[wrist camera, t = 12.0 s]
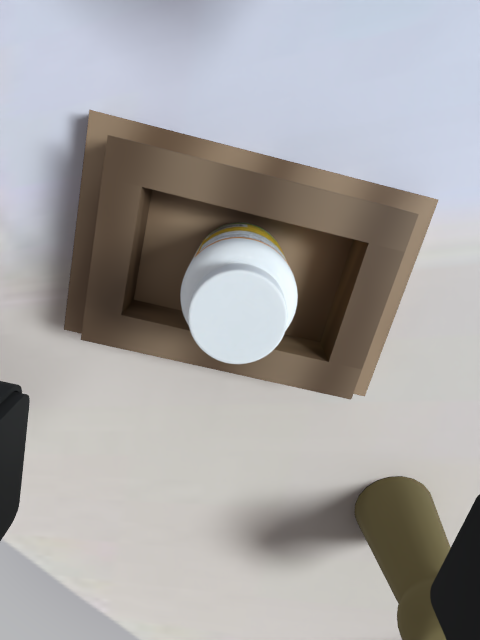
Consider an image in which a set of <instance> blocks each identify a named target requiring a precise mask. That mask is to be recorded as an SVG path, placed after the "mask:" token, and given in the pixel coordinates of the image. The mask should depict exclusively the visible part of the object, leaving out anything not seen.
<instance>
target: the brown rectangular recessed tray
mask: <svg viewBox="0 0 480 640" xmlns="http://www.w3.org/2000/svg"><path fill="white" fill-rule="evenodd" d="M437 203H438V200H437V199H434V198H430V197H426V196H422V195H418V194H414V193H410V192H406V191H403V190H399V189H395V188H391V187H387V186H383V185H379V184H375V183H372V182H368V181H364V180H360V179H356V178H352V177H348V176H344V175H341V174H337V173H333V172H329V171H325V170H321V169H317V168H313V167H310V166H306V165H302V164H298V163H294V162H290V161H286V160H282V159H278V158H275V157H271V156H267V155H263V154H259V153H255V152H251V151H247V150H244V149H240V148H236V147H232V146H228V145H224V144H220V143H216V142H213V141H209V140H205V139H201V138H197V137H193V136H189V135H185V134H182V133H178V132H174V131H170V130H166V129H162V128H158V127H154V126H151V125H147V124H143V123H139V122H135V121H131V120H127V119H123V118H120V117H116V116H112V115H108V114H104V113H100V112H96V111H92V110H90V111H89V119H88V128H87V136H86V145H85V153H84V162H83V171H82V179H81V188H80V196H79V205H78V213H77V222H76V230H75V239H74V248H73V256H72V265H71V273H70V282H69V290H68V299H67V308H66V316H65V325H64V330H68V331H73V332H77V333H82V335H81V340H84V341H89V342H93V343H98V344H102V345H107V346H112V347H116V348H121V349H125V350H130V351H134V352H139V353H143V354H148V355H152V356H157V357H161V358H166V359H170V360H175V361H179V362H184V363H188V364H193V365H198V366H202V367H207V368H211V369H216V370H220V371H225V372H229V373H234V374H238V375H243V376H247V377H252V378H256V379H261V380H265V381H270V382H275V383H279V384H284V385H288V386H293V387H297V388H302V389H306V390H311V391H315V392H320V393H324V394H329V395H333V396H338V397H342V398H347V399H351V398H352V396H353V394H357V395H361V396H365V394H366V391H367V389H368V386H369V383H370V381H371V378H372V375H373V373H374V370H375V367H376V365H377V362H378V360H379V357H380V354H381V352H382V349H383V346H384V344H385V341H386V338H387V336H388V333H389V330H390V328H391V325H392V322H393V320H394V317H395V314H396V312H397V309H398V306H399V304H400V301H401V298H402V296H403V293H404V290H405V288H406V285H407V282H408V280H409V277H410V274H411V272H412V269H413V266H414V264H415V261H416V259H417V256H418V253H419V251H420V248H421V245H422V243H423V240H424V237H425V235H426V232H427V229H428V227H429V224H430V221H431V219H432V216H433V213H434V211H435V208H436V205H437ZM230 223H249V224H253V225H256V226H258V227H260V228H262V229H264V230H265V231H267V232H268V233H269V234H270V235H271V236H272V237H273V238H274V239H275V240H276V241H277V243H278V244H279V246H280V248H281V249H282V251H283V254H284V256H285V258H286V260H287V262H288V265H289V267H290V269H291V271H292V273H293V275H294V278H295V282H296V286H297V294H298V299H297V307H296V312H295V315H294V317H293V320H292V322H291V323H290V325H289V327H288V328H287V330H286V331H285V333H284V336H283V338H282V340H281V341H280V343H279V344H278V345H277V347H276V348H275V349H274V350H273V351H272V352H271V353H269V354H268V355H267V356H265V357H263V358H261V359H259V360H257V361H254V362H251V363H246V364H230V363H224V362H221V361H219V360H216V359H214V358H212V357H211V356H209V355H208V354H207V353H205V352H204V351H203V350H202V349H201V348H200V347H199V346H198V345H197V343H196V342H195V340H194V339H193V337H192V334H191V332H190V328H189V325H188V324H187V322H186V320H185V317H184V315H183V312H182V307H181V297H180V293H181V285H182V281H183V278H184V275H185V273H186V271H187V268H188V267H189V265H190V263H191V261H192V259H193V257H194V255H195V254H196V252H197V250H198V248H199V246H200V244H201V243H202V242H203V240H204V239H205V238H206V237H207V236H208V235H209V234H210V233H211V232H212V231H214V230H215V229H217V228H219V227H221V226H223V225H226V224H230Z"/></svg>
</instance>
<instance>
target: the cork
mask: <svg viewBox="0 0 480 640" xmlns="http://www.w3.org/2000/svg"><path fill="white" fill-rule="evenodd" d="M355 517H356V520H357V522H358V525H359V527H360V529H361V531H362V533H363V535H364V537H365V539H366V541H367V542H368V544H369V546H370V548H371V550H372V552H373V554H374V556H375V558H376V560H377V562H378V564H379V566H380V568H381V570H382V572H383V574H384V576H385V578H386V580H387V582H388V584H389V586H390V588H391V590H392V592H393V594H394V596H395V598H396V600H397V601H398V603H399V605H398V611H397V621H398V628H399V631H400V635H401V638H402V640H446V638H445V635H444V633H443V631H442V628H441V626H440V624H439V621H438V619H437V617H436V614H435V612H434V610H433V607H432V604H431V599H430V590H431V586H432V584H433V582H434V580H435V578H436V576H437V574H438V572H439V570H440V568H441V566H442V564H443V562H444V560H445V558H446V556H447V554H448V552H449V551H450V549H451V548H450V545H449V543H448V540H447V537H446V535H445V532H444V529H443V526H442V524H441V521H440V518H439V516H438V513H437V510H436V508H435V505H434V502H433V499H432V497H431V494H430V492H429V491H428V490H427V488H426V487H425V486H424V485H423V484H421V483H420V482H418V481H416V480H414V479H411V478H407V477H402V476H401V477H388V478H384V479H381V480H378V481H376V482H374V483H373V484H371V485H369V486H368V487H366V489H365V490H364V491H363V492H362V493H361V494H360V495H359V497H358V499H357V502H356V504H355Z"/></svg>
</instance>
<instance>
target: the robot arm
mask: <svg viewBox="0 0 480 640" xmlns="http://www.w3.org/2000/svg"><path fill="white" fill-rule="evenodd" d="M28 412H29V396H28V395H26V394H22V389H21V387H20V386H19V385H16V384H12V383H7V382H2V381H0V541H1V539H2V538H3V536H4V535H5V533H6V532H7V530H8V529H9V527H10V526H11V524H12V522H13V520H14V518H15V516H16V513H17V511H18V507H19V501H20V491H21V481H22V471H23V461H24V451H25V442H26V432H27V422H28ZM430 599H431V604H432V607H433V610H434V612H435V614H436V617H437V619H438V621H439V624H440V626H441V628H442V631H443V633H444V635H445V638H446V640H480V495H478V497H477V498H476V500H475V502H474V504H473V506H472V508H471V510H470V512H469V514H468V515H467V517H466V519H465V521H464V523H463V525H462V527H461V529H460V531H459V533H458V535H457V537H456V539H455V541H454V543H453V545H452V547H451V549H450V551H449V552H448V554H447V556H446V558H445V560H444V562H443V564H442V566H441V568H440V570H439V572H438V574H437V576H436V578H435V580H434V582H433V584H432V586H431V590H430Z"/></svg>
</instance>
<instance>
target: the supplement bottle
mask: <svg viewBox="0 0 480 640" xmlns="http://www.w3.org/2000/svg"><path fill="white" fill-rule="evenodd" d="M180 297H181V307H182V312H183V315H184V317H185V320H186V322H187V324H188V325H189V328H190V332H191V334H192V337H193V339H194V340H195V342H196V343H197V345H198V346H199V347H200V348H201V349H202V350H203V351H204V352H205V353H207V354H208V355H209V356H211V357H212V358H214V359H216V360H219V361H221V362H224V363H230V364H246V363H251V362H254V361H257V360H259V359H261V358H263V357H265V356H267V355H268V354H269V353H271V352H272V351H273V350H274V349H275V348H276V347H277V345H278V344H279V343H280V341H281V340H282V338H283V336H284V333H285V331H286V330H287V328H288V327H289V325H290V323H291V322H292V320H293V317H294V315H295V312H296V307H297V299H298V294H297V286H296V282H295V278H294V275H293V273H292V271H291V269H290V267H289V265H288V262H287V260H286V258H285V256H284V254H283V251H282V249H281V248H280V246H279V244H278V243H277V241H276V240H275V239H274V238H273V237H272V236H271V235H270V234H269V233H268V232H267V231H265V230H264V229H262V228H260V227H258V226H256V225H253V224H249V223H230V224H226V225H223V226H221V227H219V228H217V229H215V230H214V231H212V232H211V233H210V234H209V235H208V236H207V237H206V238H205V239H204V240H203V242H202V243H201V244H200V246H199V248H198V250H197V252H196V254H195V255H194V257H193V259H192V261H191V263H190V265H189V267H188V268H187V271H186V273H185V275H184V278H183V281H182V285H181V293H180Z"/></svg>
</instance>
